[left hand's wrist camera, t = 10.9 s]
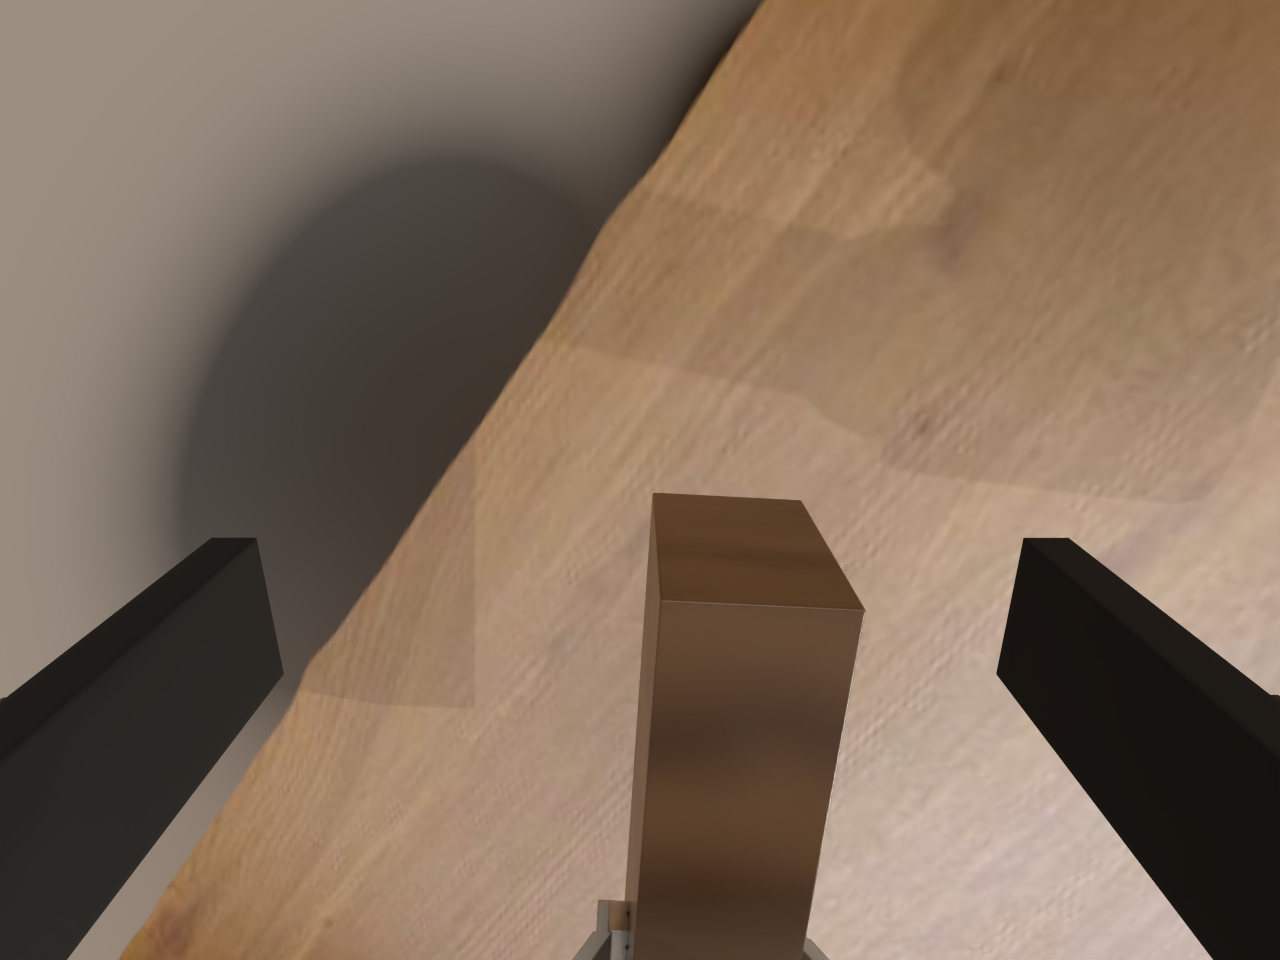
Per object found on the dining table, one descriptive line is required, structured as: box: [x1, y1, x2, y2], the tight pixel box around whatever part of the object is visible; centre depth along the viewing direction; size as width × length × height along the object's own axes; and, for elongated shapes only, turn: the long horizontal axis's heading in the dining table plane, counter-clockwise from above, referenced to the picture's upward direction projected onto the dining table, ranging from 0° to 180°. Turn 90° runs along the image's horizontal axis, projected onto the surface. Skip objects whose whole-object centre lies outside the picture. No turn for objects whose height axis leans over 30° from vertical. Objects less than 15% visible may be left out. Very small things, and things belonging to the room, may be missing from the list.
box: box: [625, 493, 865, 960], centre depth 30 cm, size 23×6×9 cm, turn 177°
